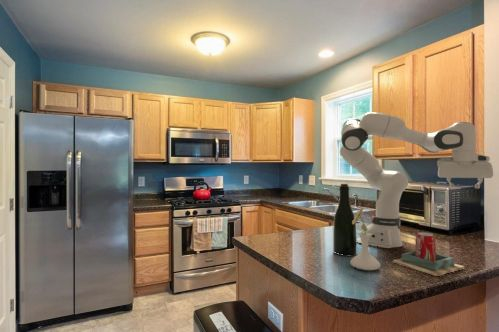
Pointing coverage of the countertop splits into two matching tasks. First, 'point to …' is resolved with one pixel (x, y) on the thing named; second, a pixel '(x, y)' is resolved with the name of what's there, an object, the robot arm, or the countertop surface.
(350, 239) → the dark green wine bottle
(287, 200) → the countertop surface
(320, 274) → the countertop surface
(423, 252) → the soda can
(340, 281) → the countertop surface
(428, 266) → the tray
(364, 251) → the flower in vase
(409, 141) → the robot arm
